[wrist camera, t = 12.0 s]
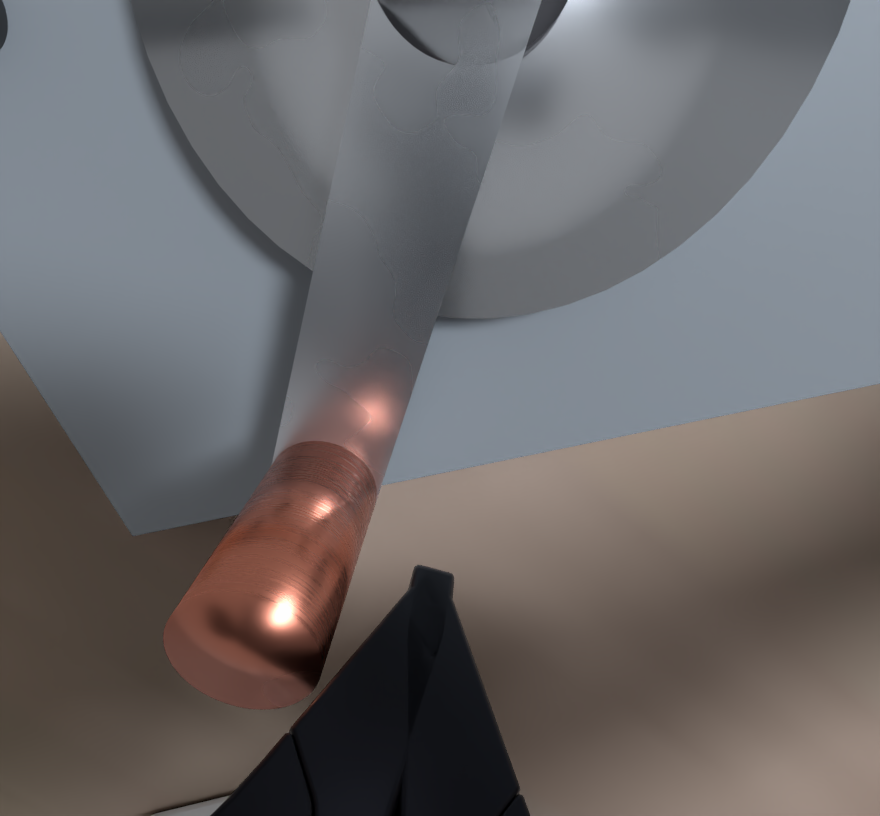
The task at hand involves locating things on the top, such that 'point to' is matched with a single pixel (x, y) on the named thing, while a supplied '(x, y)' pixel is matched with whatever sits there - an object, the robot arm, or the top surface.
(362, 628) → the top surface
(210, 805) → the medicine bottle
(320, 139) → the crank
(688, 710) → the top surface
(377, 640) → the robot arm
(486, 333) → the crank plate
